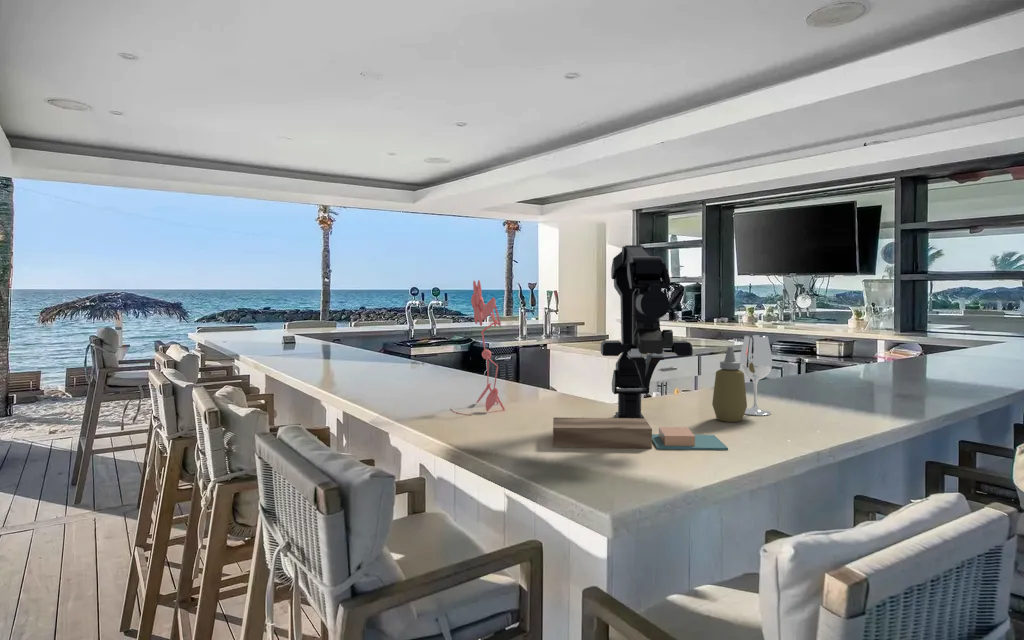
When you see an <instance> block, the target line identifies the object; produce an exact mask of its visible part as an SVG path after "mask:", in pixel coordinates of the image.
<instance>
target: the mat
mask: <svg viewBox="0 0 1024 640" xmlns="http://www.w3.org/2000/svg"><path fill="white" fill-rule="evenodd" d="M694 436H695V446H665V445H664V443H663V442H662V440H661V439H660V437H659V433H658V434H656V433H655V434H654V433H652V444H653V445H654V446H655V448H656V449H657V450H689V451H691V450H695V451H696V450H699V451H700V450H701V451H702V450H703V451H705V450H707V451H709V450H710V451H729V447H728V446H727V445H726V444H724V443H723V442H722V441H721V439H720V438H718V437H717V436H716V435H715V434H694Z"/></svg>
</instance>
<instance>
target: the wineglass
mask: <svg viewBox="0 0 1024 640" xmlns="http://www.w3.org/2000/svg"><path fill="white" fill-rule="evenodd" d="M772 355H773V354H772V350H771V345H770V340H769V336H768V335H761V334H759V335H758V334H757V335H755V334H750V335H749V334H748V335H747V334H746V335H744V338H743V342H742V346H741V349H740V357H739V362H740V371H742V372H743V373H744V376H746V377H747V378H748V379H750V380H752V382H753V405H752V406H751V407H750V408H746V411H745V413H744V415H748V416H755V415H756V416H761V417H763V416H764V415H765V416H769V415H771V414H772V412H771V411H769V410H765V409H761V408H760V407H758V401H757V400H758V399H757V397H758V383H759V381H760V380H763V379H764V378H765V377H767V376H768V375H769V374H770V373H771V371H772V368H773V357H772Z"/></svg>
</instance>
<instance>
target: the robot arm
mask: <svg viewBox="0 0 1024 640" xmlns="http://www.w3.org/2000/svg"><path fill="white" fill-rule="evenodd" d="M610 270H611V271H610V273H611V274H610V275H611V276H610V277H611V280H613V287H614V290H615V291H616V292H617V294H618V295H619V299H620V329H621V330H620V334H621V335H620V336H621V339H620V340H602V342H601V343H600V354H601V355H602V356H604V357H618V356H619V357H618V360H617V361H616V363H615V369H613V373H612V380H611V392H612V393H613V394H614V395H617V396H618V397H617V412H615V416H616V418H645V416H644V415H643V414H642V395H643V394H644V395H648V394H649V393H650V385H651V379H652V376H653V373H654V371H655V369H656V368H657V365H658V364H659V363H660V361H664V360H665V359H666V357H665V356H664V355H665V353H672V354H675V355H676V356H677V357H692V356H693V352H694V351H693V348H694V347H693V345H692V343H691V342H690V341H687V340H683V339H681V340H679V339H678V340H674V331H673V330H672V329H662V330H661V324H660V323H661V321H660V319H661V318H662V317H664V316H665V315H666V314H667V313H668V311H669V310H670V305H671V304H670V299H669V297H668V295H667V294H666V293H665V292H664V291H662V290H663V289H669V287H670V284H671V278H670V272H669V270H668V267H667V265H666V262H665V261H663V258H662V257H661V256H659V255H658V256H656V255H655V256H651V255H649V254H648V252H646V250H645V246H643V245H641V244H637V245H636V244H635V245H633V244H632V245H631V244H630V245H629V244H628V245H627V244H626V245H625V246H624V245H623V246H622V248H621V251H620V252H619V253H618V254H617V255H616V256H614V257H613V258H612V262H611V268H610ZM643 355H646V359H645V357H644V356H643Z"/></svg>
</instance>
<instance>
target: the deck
mask: <svg viewBox="0 0 1024 640" xmlns="http://www.w3.org/2000/svg"><path fill="white" fill-rule="evenodd" d="M552 422H553V423H552V425H553V426H552V447H553V448H590V449H591V448H594V449H595V448H596V449H597V448H598V449H599V448H601V449H602V448H603V449H606V448H607V449H652V448H653V441H652V434H653V428H652V427H651V425H650V424H649V422H648V421H647V419H646V418H645V417H644V418H617V417H553V421H552Z"/></svg>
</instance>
